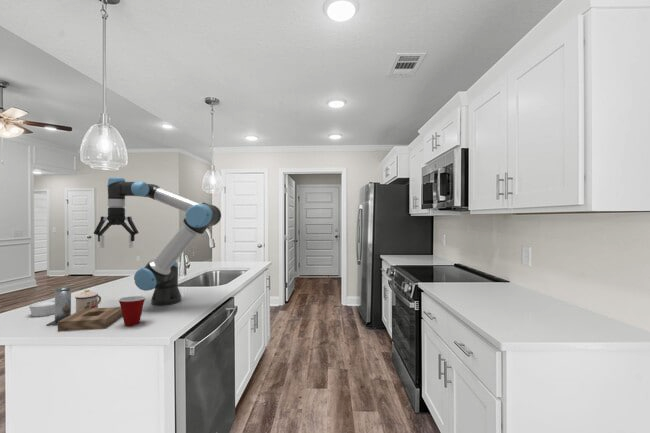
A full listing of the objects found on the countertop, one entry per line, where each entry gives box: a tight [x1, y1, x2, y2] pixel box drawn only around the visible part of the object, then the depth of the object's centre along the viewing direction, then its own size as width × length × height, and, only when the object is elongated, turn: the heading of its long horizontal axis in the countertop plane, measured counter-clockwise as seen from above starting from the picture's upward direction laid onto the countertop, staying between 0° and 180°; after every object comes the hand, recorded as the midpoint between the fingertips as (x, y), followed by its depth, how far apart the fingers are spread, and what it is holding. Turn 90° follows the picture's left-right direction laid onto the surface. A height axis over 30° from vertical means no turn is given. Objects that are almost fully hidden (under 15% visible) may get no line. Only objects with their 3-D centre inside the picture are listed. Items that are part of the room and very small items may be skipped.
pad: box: [46, 319, 58, 327], centre depth 140 cm, size 8×8×1 cm
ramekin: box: [28, 299, 55, 318], centre depth 151 cm, size 11×11×5 cm
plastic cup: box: [117, 295, 147, 327], centre depth 138 cm, size 11×11×12 cm
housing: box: [57, 306, 123, 332], centre depth 140 cm, size 18×18×4 cm
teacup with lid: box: [74, 288, 102, 313], centre depth 154 cm, size 12×9×12 cm
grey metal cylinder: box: [54, 286, 72, 323], centre depth 140 cm, size 6×6×15 cm
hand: (116, 247), depth 161 cm, fingers open, 13 cm apart
